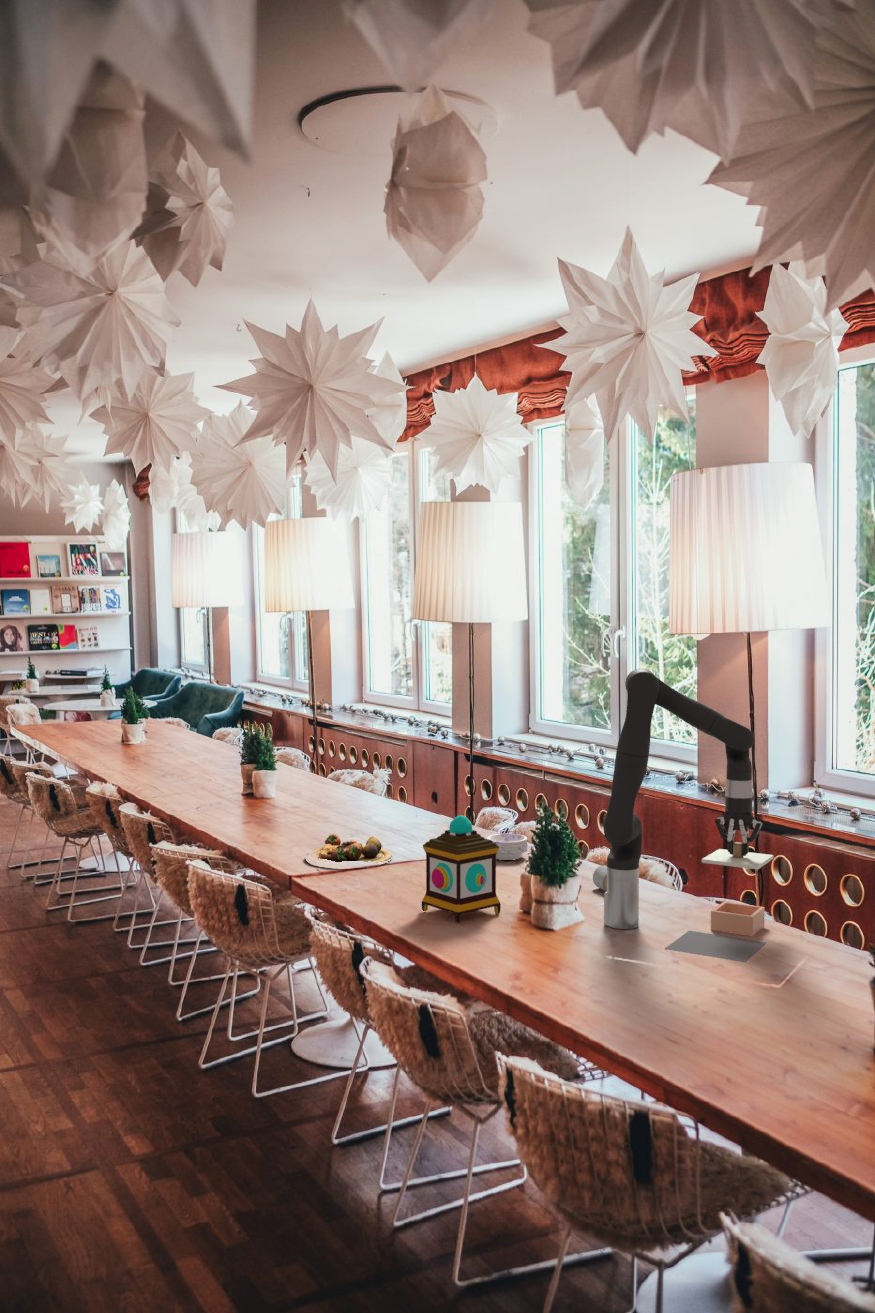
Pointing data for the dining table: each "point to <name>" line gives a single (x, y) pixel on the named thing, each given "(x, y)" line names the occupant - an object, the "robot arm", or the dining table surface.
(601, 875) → the ceramic mug
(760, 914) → the terracotta dish
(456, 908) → the decorative lantern
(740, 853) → the cream lid
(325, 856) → the wooden plate with food
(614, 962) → the dining table surface
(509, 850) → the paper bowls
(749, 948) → the rubber mat
